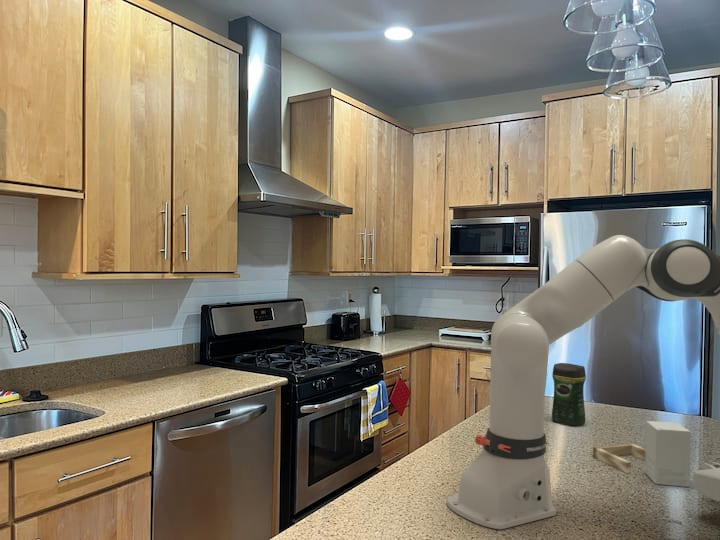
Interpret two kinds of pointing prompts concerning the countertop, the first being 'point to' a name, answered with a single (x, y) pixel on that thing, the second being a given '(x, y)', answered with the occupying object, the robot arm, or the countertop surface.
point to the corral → (612, 452)
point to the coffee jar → (568, 394)
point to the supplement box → (667, 453)
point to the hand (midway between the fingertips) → (707, 466)
